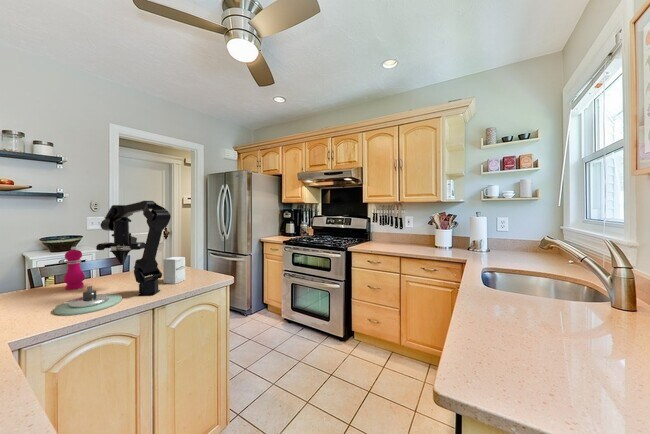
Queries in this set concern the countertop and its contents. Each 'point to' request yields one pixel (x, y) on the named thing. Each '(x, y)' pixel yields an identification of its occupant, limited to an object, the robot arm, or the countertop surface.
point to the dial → (89, 299)
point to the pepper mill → (74, 270)
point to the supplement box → (174, 270)
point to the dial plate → (66, 310)
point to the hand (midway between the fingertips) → (122, 264)
